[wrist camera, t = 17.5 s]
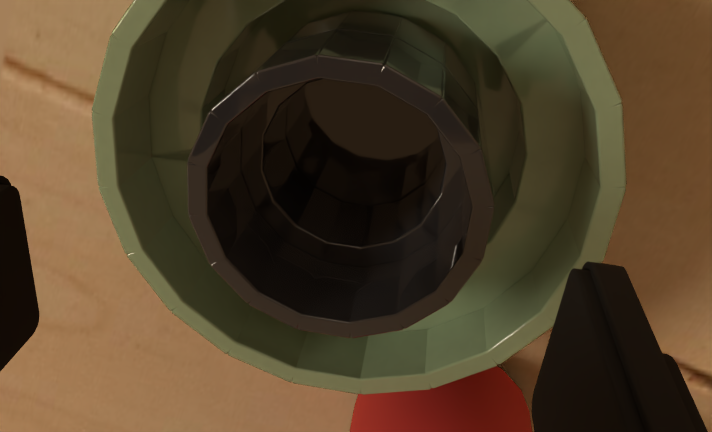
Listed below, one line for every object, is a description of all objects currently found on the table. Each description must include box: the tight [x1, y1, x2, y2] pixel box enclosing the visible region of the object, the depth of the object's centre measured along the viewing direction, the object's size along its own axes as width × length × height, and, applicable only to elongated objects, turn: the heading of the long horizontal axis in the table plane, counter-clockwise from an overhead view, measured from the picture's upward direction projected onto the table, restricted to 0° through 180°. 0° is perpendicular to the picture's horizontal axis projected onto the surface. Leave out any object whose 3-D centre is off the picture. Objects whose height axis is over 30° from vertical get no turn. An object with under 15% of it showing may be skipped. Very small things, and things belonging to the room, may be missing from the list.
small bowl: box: [187, 10, 495, 338], centre depth 18 cm, size 7×7×6 cm
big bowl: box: [92, 0, 627, 395], centre depth 19 cm, size 13×13×5 cm
